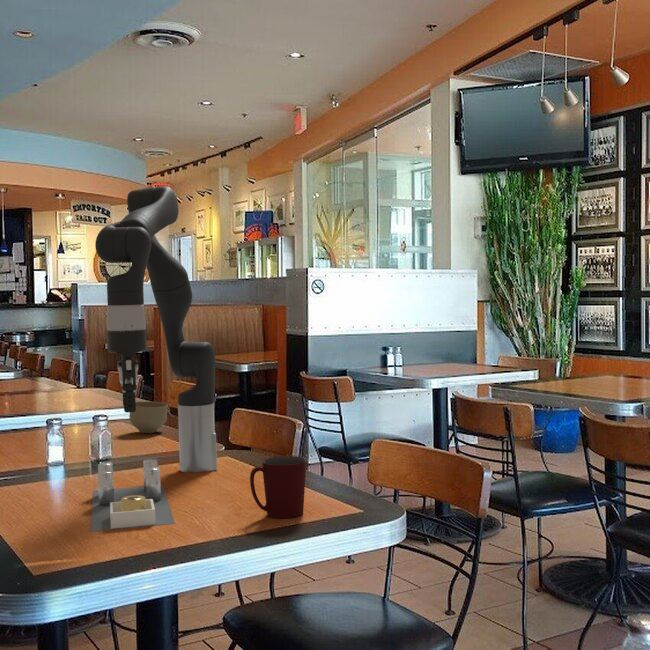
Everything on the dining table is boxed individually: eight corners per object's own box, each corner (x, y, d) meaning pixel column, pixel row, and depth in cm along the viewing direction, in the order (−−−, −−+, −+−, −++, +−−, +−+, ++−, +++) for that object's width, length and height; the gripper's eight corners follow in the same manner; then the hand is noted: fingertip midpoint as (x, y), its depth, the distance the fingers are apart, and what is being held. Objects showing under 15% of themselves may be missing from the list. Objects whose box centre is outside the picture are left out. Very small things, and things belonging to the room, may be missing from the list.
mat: (163, 486, 192) (163, 484, 192) (175, 526, 159) (175, 523, 159) (93, 492, 188) (93, 490, 188) (90, 534, 155) (90, 531, 155)
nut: (145, 514, 165) (145, 494, 165) (146, 520, 160) (145, 500, 160) (121, 515, 164) (120, 496, 163) (121, 522, 159) (120, 502, 159)
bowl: (164, 435, 262) (163, 405, 262) (125, 436, 262) (124, 405, 262) (172, 429, 275) (171, 399, 274) (135, 429, 275) (134, 400, 274)
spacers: (157, 488, 188) (157, 458, 188) (161, 501, 177) (160, 469, 176) (99, 493, 185) (98, 463, 185) (98, 506, 173) (97, 474, 173)
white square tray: (152, 513, 167) (152, 498, 167) (155, 524, 159) (155, 509, 159) (110, 517, 165) (110, 502, 165) (110, 528, 157) (110, 513, 157)
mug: (261, 524, 159) (260, 469, 158) (242, 514, 166) (241, 461, 166) (314, 515, 165) (313, 461, 164) (294, 505, 172) (292, 454, 172)
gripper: (147, 328, 154) (150, 413, 155) (144, 326, 168) (146, 403, 169) (107, 330, 153) (110, 415, 153) (106, 327, 166) (109, 405, 167)
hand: (129, 409), depth 161 cm, fingers open, 8 cm apart
